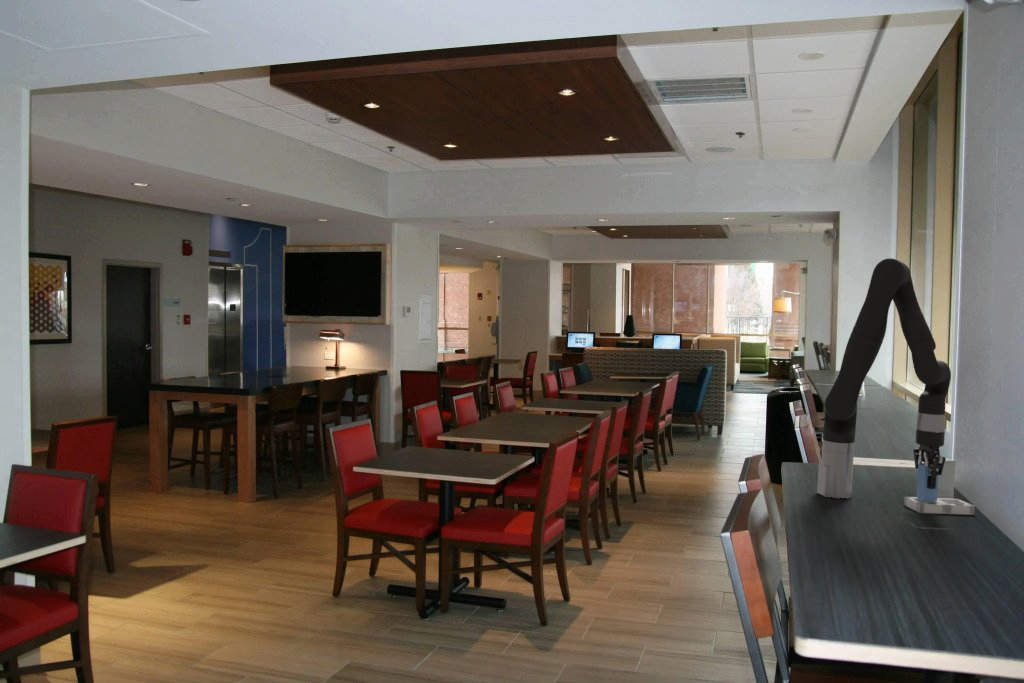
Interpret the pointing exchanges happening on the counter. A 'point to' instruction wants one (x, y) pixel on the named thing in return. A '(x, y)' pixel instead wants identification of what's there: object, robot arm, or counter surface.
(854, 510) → the counter surface
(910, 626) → the counter surface
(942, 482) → the supplement box
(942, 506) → the jack panel
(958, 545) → the counter surface
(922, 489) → the plug
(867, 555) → the counter surface
